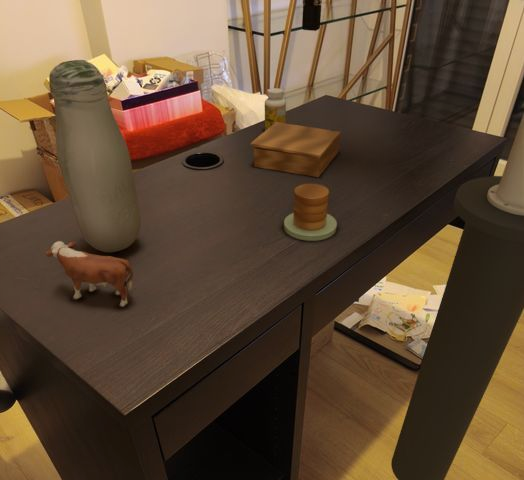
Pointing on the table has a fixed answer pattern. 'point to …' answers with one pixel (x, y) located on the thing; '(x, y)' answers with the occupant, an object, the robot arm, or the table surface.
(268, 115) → the supplement bottle
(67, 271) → the bull figurine
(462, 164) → the table surface
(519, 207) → the robot arm
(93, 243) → the grey green bottle
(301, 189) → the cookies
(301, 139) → the lid
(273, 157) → the wooden box
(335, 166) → the table surface
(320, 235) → the plate
